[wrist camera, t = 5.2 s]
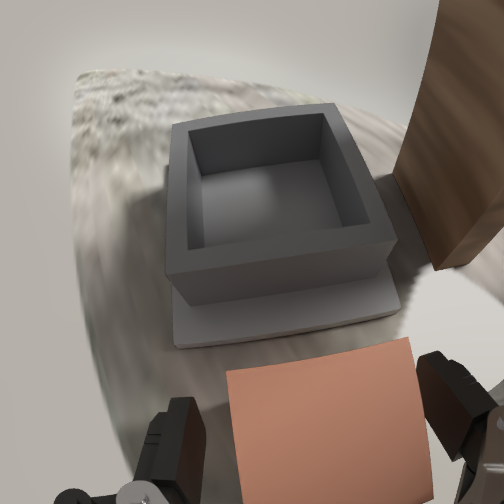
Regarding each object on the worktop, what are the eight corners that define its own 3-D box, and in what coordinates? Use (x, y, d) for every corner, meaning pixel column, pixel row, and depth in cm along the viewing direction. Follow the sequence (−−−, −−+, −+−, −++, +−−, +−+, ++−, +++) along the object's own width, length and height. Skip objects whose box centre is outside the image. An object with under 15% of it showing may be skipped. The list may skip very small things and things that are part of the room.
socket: (332, 139, 23) (338, 86, 18) (395, 313, 16) (432, 276, 12) (178, 161, 23) (159, 110, 19) (179, 348, 16) (142, 323, 12)
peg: (341, 377, 15) (408, 336, 7) (355, 457, 13) (433, 498, 5) (254, 392, 15) (225, 370, 7) (266, 474, 13) (249, 542, 5)
